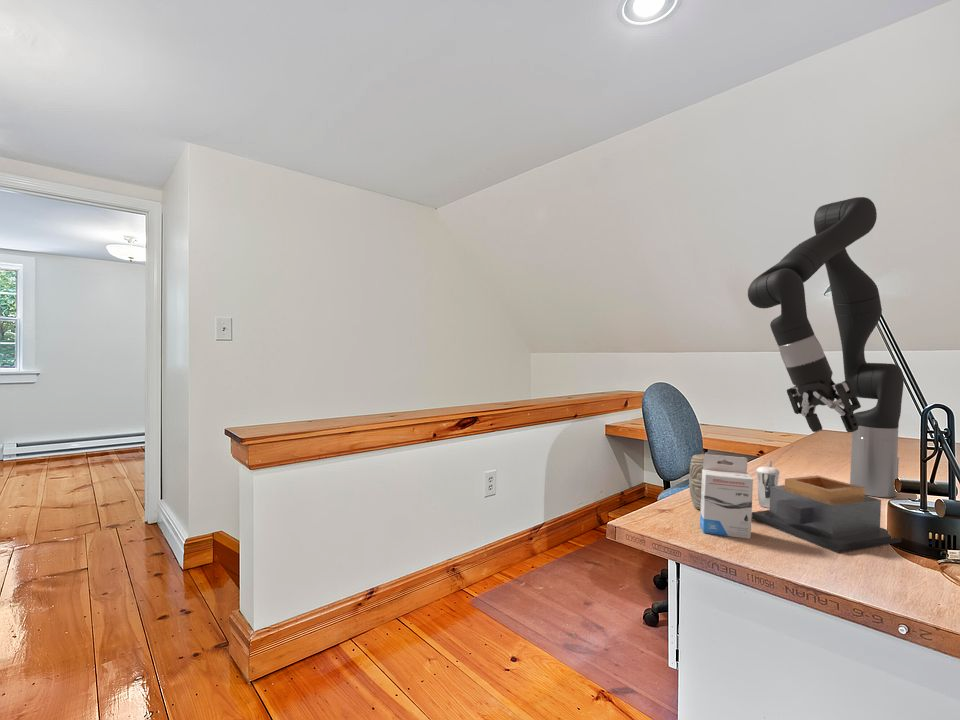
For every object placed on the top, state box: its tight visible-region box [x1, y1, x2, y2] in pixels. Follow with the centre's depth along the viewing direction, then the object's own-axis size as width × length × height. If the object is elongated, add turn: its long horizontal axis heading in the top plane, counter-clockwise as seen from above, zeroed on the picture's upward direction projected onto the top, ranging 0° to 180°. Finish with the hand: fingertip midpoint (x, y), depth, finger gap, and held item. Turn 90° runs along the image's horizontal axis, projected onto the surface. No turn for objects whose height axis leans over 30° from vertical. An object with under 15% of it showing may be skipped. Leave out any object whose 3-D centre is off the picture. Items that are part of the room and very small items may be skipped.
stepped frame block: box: [751, 475, 902, 554], centre depth 97 cm, size 18×18×10 cm
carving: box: [688, 453, 723, 511], centre depth 109 cm, size 6×8×12 cm
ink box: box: [699, 453, 754, 540], centre depth 96 cm, size 8×5×15 cm, turn 73°
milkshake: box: [756, 460, 780, 509], centre depth 113 cm, size 4×5×10 cm
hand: (834, 430), depth 103 cm, fingers open, 8 cm apart
